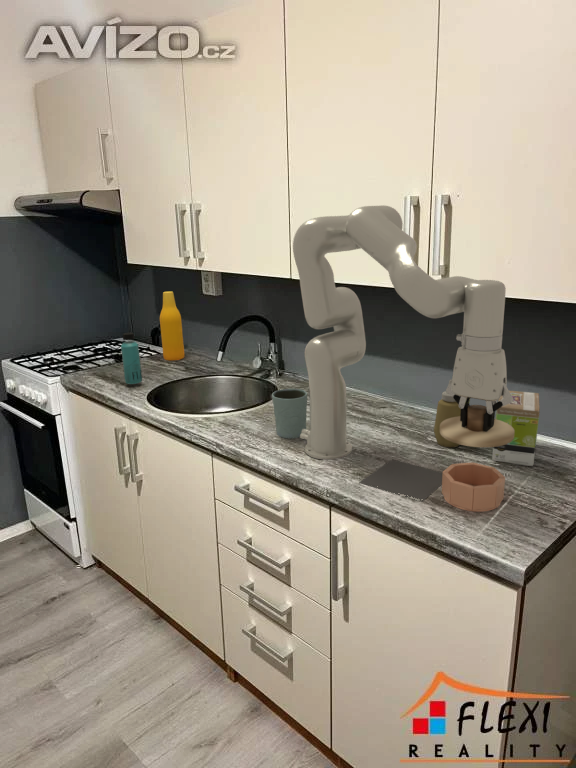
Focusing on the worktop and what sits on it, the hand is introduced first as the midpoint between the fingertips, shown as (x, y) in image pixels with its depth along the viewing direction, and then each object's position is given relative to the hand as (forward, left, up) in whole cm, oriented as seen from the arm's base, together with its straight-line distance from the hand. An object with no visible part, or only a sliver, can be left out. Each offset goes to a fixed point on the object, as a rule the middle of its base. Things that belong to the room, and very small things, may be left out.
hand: (476, 426), depth 124 cm
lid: (0, 0, -2) cm, 2 cm away
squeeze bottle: (-17, +26, -17) cm, 36 cm away
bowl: (0, 0, -17) cm, 17 cm away
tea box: (-1, +30, -17) cm, 35 cm away
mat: (-16, 0, -17) cm, 23 cm away
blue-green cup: (-57, +9, -17) cm, 61 cm away
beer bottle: (-155, +48, -17) cm, 163 cm away
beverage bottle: (-136, +13, -17) cm, 138 cm away
